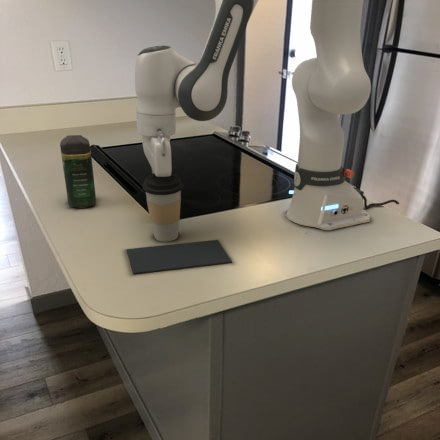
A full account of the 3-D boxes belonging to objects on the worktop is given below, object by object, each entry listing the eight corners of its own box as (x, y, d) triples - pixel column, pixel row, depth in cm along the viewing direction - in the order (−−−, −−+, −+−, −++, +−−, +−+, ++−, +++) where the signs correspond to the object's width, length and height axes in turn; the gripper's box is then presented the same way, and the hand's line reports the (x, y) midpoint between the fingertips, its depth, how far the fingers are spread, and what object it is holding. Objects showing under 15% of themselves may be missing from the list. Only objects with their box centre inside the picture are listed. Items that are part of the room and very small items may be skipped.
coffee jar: (97, 207, 137) (89, 140, 127) (68, 210, 135) (58, 141, 125) (96, 196, 145) (88, 132, 135) (68, 198, 143) (58, 133, 133)
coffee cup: (165, 223, 126) (161, 167, 117) (193, 234, 121) (191, 177, 112) (139, 237, 120) (133, 179, 111) (167, 249, 115) (163, 190, 106)
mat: (217, 241, 119) (217, 239, 119) (231, 262, 109) (231, 261, 109) (126, 250, 113) (126, 249, 113) (133, 274, 103) (133, 272, 103)
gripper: (178, 135, 103) (178, 197, 110) (162, 116, 120) (163, 171, 127) (148, 135, 102) (150, 199, 109) (137, 116, 119) (139, 172, 126)
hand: (157, 184), depth 118 cm, fingers closed
